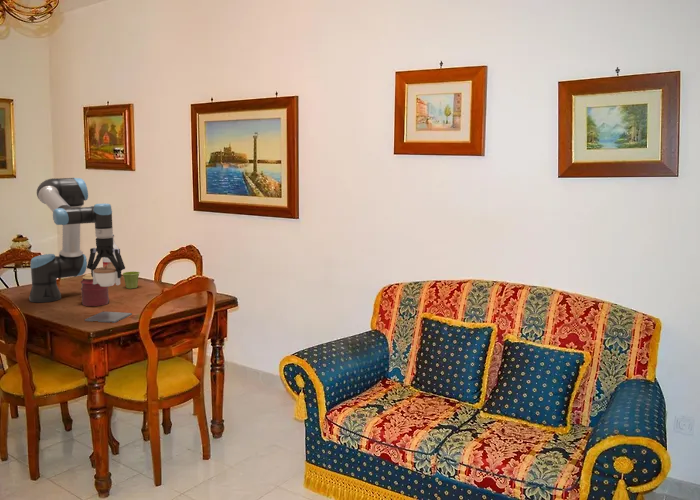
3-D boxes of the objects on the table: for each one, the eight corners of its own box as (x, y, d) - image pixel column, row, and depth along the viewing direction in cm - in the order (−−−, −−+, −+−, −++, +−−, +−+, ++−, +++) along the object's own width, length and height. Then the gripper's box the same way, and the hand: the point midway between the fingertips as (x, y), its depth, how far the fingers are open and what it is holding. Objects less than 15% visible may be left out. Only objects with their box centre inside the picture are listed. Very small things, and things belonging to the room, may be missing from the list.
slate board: (84, 321, 293) (84, 319, 293) (103, 313, 307) (103, 311, 307) (114, 322, 290) (114, 321, 290) (131, 314, 304) (131, 313, 304)
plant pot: (135, 289, 359) (134, 274, 358) (119, 289, 360) (119, 274, 359) (143, 286, 368) (142, 271, 367) (128, 285, 369) (127, 271, 368)
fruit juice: (116, 282, 379) (113, 235, 374) (100, 282, 380) (98, 235, 375) (123, 279, 388) (120, 233, 384) (108, 279, 389) (105, 233, 385)
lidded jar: (111, 282, 304) (110, 262, 302) (123, 285, 297) (122, 265, 296) (90, 285, 295) (88, 265, 294) (102, 288, 289) (101, 268, 287)
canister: (76, 306, 321) (74, 271, 318) (90, 300, 333) (88, 267, 331) (100, 307, 319) (99, 272, 316) (114, 301, 331) (112, 268, 329)
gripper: (76, 237, 291) (79, 284, 295) (123, 239, 287) (125, 286, 290) (86, 235, 299) (89, 281, 302) (131, 237, 294) (133, 283, 298)
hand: (106, 284), depth 296 cm, fingers closed on lidded jar, 11 cm apart
